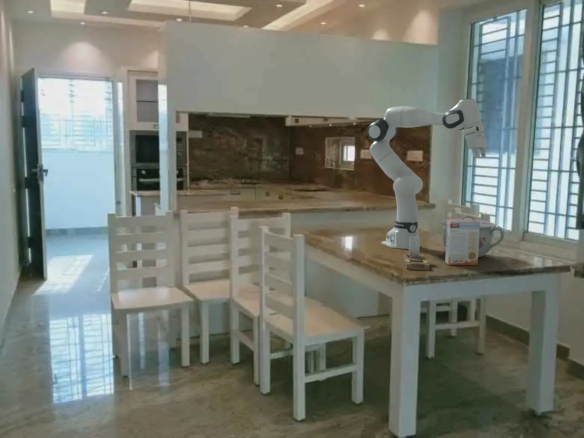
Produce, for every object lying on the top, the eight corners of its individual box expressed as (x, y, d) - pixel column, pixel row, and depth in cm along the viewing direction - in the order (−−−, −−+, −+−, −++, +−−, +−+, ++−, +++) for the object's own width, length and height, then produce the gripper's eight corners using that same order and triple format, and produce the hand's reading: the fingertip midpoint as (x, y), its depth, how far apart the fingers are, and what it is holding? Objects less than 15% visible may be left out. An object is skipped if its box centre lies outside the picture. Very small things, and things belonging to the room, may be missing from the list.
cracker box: (473, 263, 275) (476, 219, 272) (477, 265, 269) (480, 221, 266) (444, 262, 275) (446, 219, 272) (448, 265, 269) (450, 220, 266)
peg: (408, 260, 278) (409, 236, 276) (417, 261, 278) (418, 236, 276) (409, 262, 274) (410, 237, 272) (418, 262, 273) (420, 237, 272)
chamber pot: (427, 252, 301) (429, 212, 299) (470, 249, 311) (473, 211, 308) (460, 262, 275) (463, 219, 273) (507, 259, 285) (510, 218, 282)
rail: (401, 258, 282) (401, 253, 282) (422, 259, 281) (422, 254, 281) (406, 269, 258) (406, 263, 258) (429, 270, 257) (429, 264, 257)
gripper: (474, 132, 297) (481, 158, 296) (461, 131, 280) (468, 159, 279) (486, 128, 293) (493, 155, 293) (474, 127, 276) (481, 156, 276)
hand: (481, 157), depth 286 cm, fingers open, 8 cm apart
